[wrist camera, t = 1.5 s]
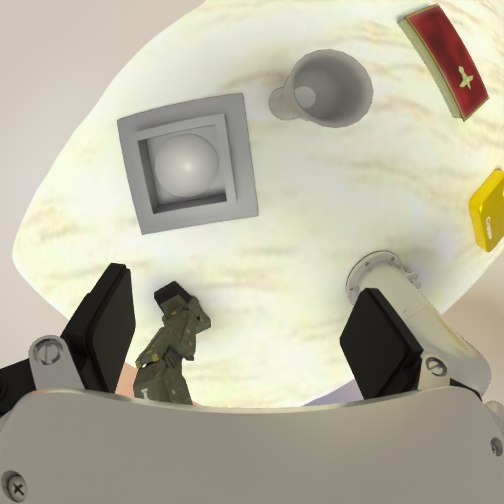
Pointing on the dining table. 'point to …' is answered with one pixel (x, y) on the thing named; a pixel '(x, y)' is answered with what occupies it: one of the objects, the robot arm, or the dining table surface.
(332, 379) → the dining table surface
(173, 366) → the mechanical leg
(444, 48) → the hardcover book
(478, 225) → the element tile
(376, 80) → the dining table surface
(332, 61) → the chalice
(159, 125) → the housing
